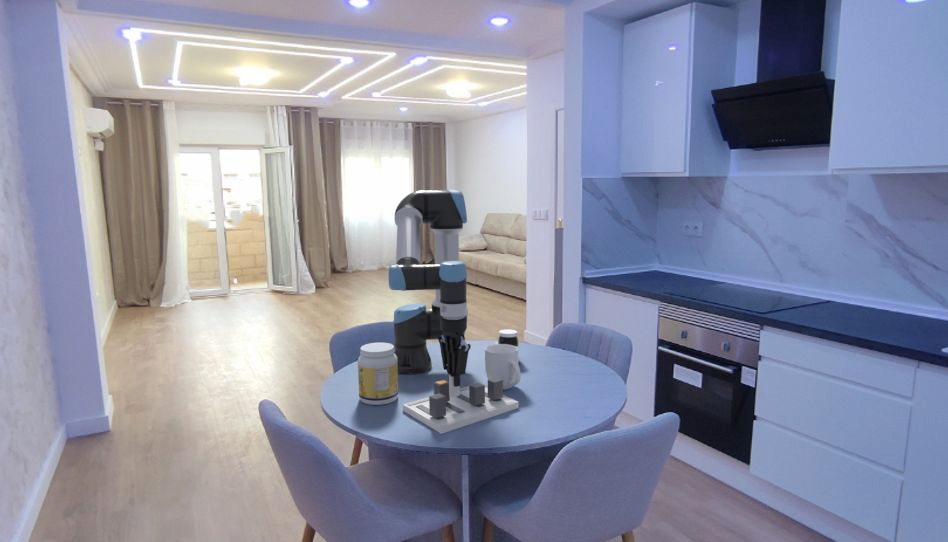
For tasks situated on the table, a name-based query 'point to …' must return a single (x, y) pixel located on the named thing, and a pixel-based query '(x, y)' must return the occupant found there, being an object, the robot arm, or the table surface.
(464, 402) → the panel
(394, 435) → the table surface
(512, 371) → the mug
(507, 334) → the spread jar
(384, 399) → the supplement tub
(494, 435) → the table surface
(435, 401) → the breaker
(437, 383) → the breaker
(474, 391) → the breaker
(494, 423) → the table surface
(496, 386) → the breaker
